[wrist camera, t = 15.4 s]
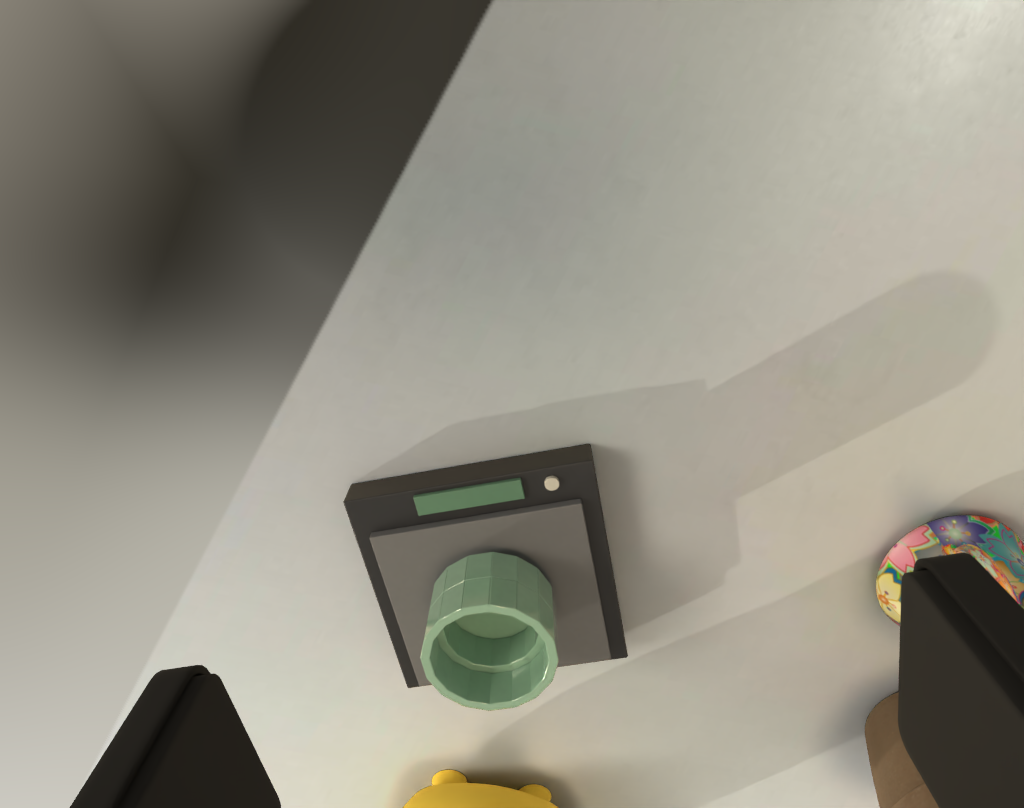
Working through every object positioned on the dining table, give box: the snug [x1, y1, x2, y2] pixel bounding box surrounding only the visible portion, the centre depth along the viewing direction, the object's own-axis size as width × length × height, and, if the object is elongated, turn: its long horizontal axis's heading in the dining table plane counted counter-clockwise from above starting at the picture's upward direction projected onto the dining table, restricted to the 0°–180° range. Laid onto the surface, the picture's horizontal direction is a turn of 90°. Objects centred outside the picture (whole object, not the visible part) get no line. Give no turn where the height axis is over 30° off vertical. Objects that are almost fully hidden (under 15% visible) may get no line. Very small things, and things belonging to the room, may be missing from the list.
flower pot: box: [865, 692, 939, 808], centre depth 43 cm, size 12×11×10 cm
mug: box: [876, 515, 1024, 626], centre depth 37 cm, size 12×9×11 cm
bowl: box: [420, 552, 559, 711], centre depth 39 cm, size 7×7×5 cm
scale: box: [344, 444, 628, 688], centre depth 42 cm, size 14×14×3 cm
